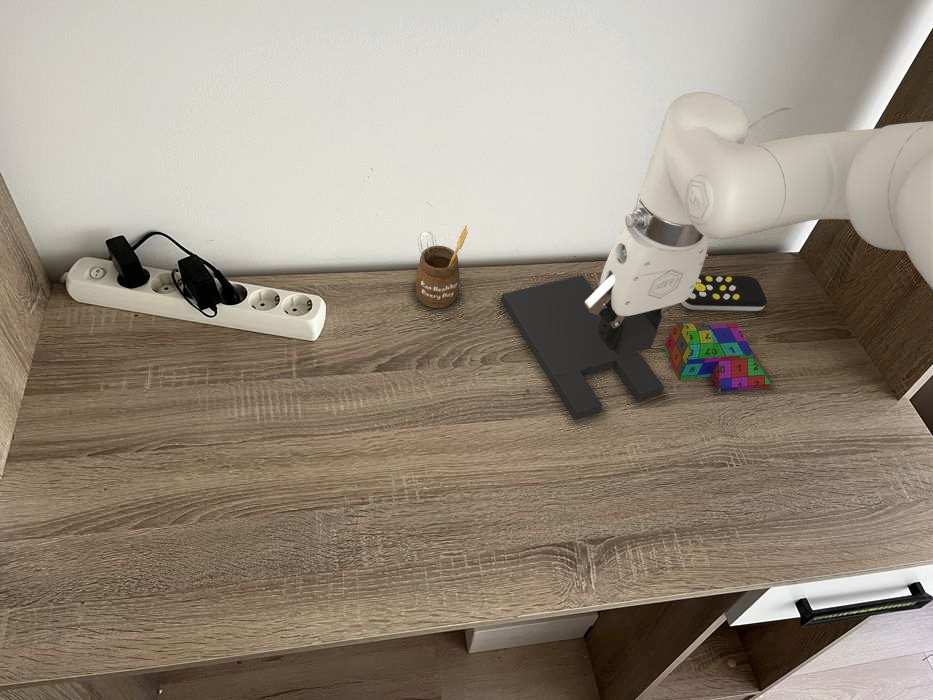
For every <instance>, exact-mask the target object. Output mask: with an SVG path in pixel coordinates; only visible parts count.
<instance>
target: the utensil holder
mask: <svg viewBox="0 0 933 700" xmlns="http://www.w3.org/2000/svg"><path fill="white" fill-rule="evenodd" d="M468 232H469V231H468V227H467V224H465V225H464V227H463V229H462V231H461V233H460V234H459V237H458V239H457V242H456V247H455V248H456V249H455V250H453V249H452V248H450V247H448V246H445V245H444V246H443V245H434V244H435V243H437V240H436V237H435V236H433V233H432V232H431V231H429V232H427V231H424V233H420V234H419V236H418V239H417V240H419V239H420V242H423V241H422V240H423V239H424V236H425V242H426V248H425V249H424V248H423V245H422V243H418V244H417V247H420V248H418V249H419V252H420V254H421V255H420V258H419V263H418V265H417V268H416V272H415V273H416V275H415V294H416V298H417V299H418V301H419V302H420V303H421V304H422V305H425V306H426V307H428V308H433V309H443V308H447V307H448V306H450V305H452V304H453V303H454V302H455V300H456V298H457V296H458V293H459V285H460V268H459V257H458V252H459V251H460V250H461V249H462V248H463V245H464V243H465V240H466V238H467V235H468ZM429 235H431V237H430V236H429ZM427 236H428V238H430V239H431V242H432V246H429V243H428V238H427ZM433 237H434V240H433ZM434 241H435V243H434Z"/></svg>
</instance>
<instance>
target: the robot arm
mask: <svg viewBox="0 0 933 700" xmlns="http://www.w3.org/2000/svg"><path fill="white" fill-rule="evenodd" d="M748 133H749V119H748V116H747V114H746V112H745V111H744V110H743V108H742V107H741V106H740V105H739V104H737V102H735V101H733V100H731V99H729V98H728V97H725V96H722V95H720V94H718V93H713V92H708V91H691V92H688V93H684V94H682V95H680V96H678V97H677V98H675V99H674V100H673V101H672V102H671V103H670V104H669V106H668V108H667V110H666V112H665V114H664V117H663V120H662V122H661V127H660V130H659V132H658V135H657V137H656V141H655V144H654V148H653V150H652V154H651V156H650V160H649V162H648V165H647V168H646V170H645V171H646V172H645V175H644V177H643V180H642V184H641V186H640V190H639V193H638V196H637V199H636V202H635V205H634V208H633V211H632V213H629V214H627V215H626V216H625V221H624V222H625V224H624V225H623V227H622V229H621V231H620V232H619V234H618V235H617V237H616V239H615V241H614V243H613V245H612V247H611V250H610V252H609V254H608V257H607V259H606V262H605V263H604V267H603V270H602V273H601V276H600V280H599V284H598V287H597V288H596V289H595V290H594V292H593V293H592V295H591V296H590V297H589V298H588V299H587V300H586V301H585V302H584V305H585V306H586V308H587V309H588V310H589V312H591V313H593V314H595V315H599V316H601V318H602V321H601V324H600V327H599V330H598V334H599V337H600V339H601V340H602V341H603V342H605V344H606V345H607V347H608V348H609V350H614V349H615V348H616V346H617V343H618V341H619V338H620V335H621V334H622V331H623V325H622V324H621V323H622V321H623V320H624V318H625V316H631V315H635V314H640V313H644V314H645V316H646V317H647V318H648V320H649V321H650V322H651V324H652V325H653V326H654V327H655V329H656V330H657V331H658V329H659V327H660V324H661V321H662V319H663V316H665V315H667V314H669V312H670V311H671V306H674V305H677V304H678V305H679V304H682V303H681V302H683V301H685V300H686V299H688V298H689V297H690V295H691V293H692V292H693V289H694V287H695V285H696V284H697V280H698V277H699V275H701V272H702V269H703V266H704V263H705V260H706V257H707V254H708V253H707V252H708V248H709V244H710V239H712V240H721V241H722V240H729V239H734V238H738V237H744V236H747V235H752V234H753V235H754V234H757V233H761V232H764V231H768V230H769V231H770V230H774V229H778V228H781V227H786V226H790V225H791V226H792V225H796V224H802V223H805V222H806V223H807V222H811V221H817V220H820V221H821V220H849V221H850V223H851V225H852V227H853V229H854V230H855V232H856V233H857V235H858V236H859V237H860V238H861V239H862V240H863V241H865V242H866V243H868V244H869V245H871V246H873V247H875V248H879V249H881V250H886V251H887V250H889V251H900V252H901V251H904V252H905V253H906V254H907V256H908V258H909V260H910V262H911V263H912V265H913V266H914V267H915V269H916V270H917V271H918V273H919V274H920V275H921V277H922V278H923V280H924V281H925V282H926V283H927V285H928V286H929V287H930V288H931V290H933V120H929V121H919V122H917V121H916V122H905V123H897V124H895V123H894V124H887V125H885V126H882V127H879V128H868V129H858V130H846V131H836V132H834V131H833V132H825V133H824V132H823V133H815V134H806V135H798V136H792V137H787V138H785V137H784V138H780V139H773V140H768V141H763V142H757V143H751V144H747V143H746V144H745V142H746V139H747V137H748Z"/></svg>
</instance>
